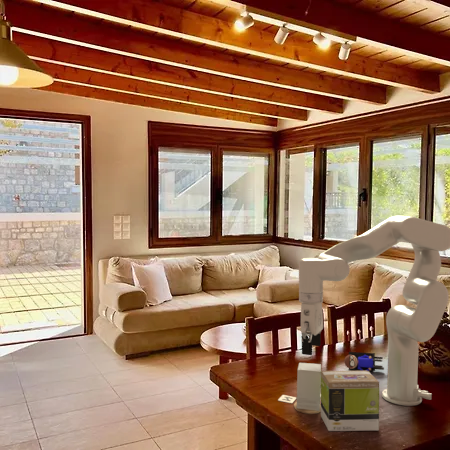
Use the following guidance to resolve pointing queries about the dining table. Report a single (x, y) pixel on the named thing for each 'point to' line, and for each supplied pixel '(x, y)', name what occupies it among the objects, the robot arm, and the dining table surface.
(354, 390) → the tea box
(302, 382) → the supplement box
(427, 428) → the dining table surface
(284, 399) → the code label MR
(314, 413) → the cork coaster
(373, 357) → the character figurine
